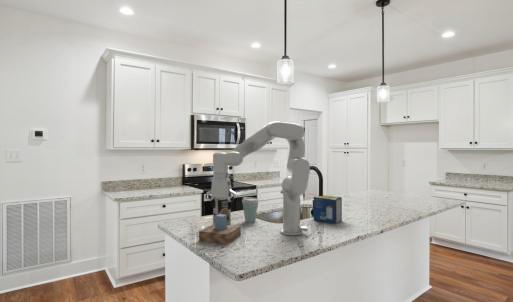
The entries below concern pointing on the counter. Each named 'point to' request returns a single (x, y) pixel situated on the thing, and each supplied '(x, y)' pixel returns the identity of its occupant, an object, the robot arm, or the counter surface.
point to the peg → (220, 222)
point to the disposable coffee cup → (250, 208)
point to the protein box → (328, 209)
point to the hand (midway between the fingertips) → (221, 208)
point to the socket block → (219, 234)
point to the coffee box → (222, 209)
